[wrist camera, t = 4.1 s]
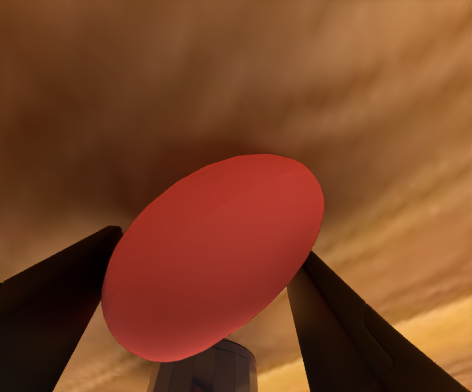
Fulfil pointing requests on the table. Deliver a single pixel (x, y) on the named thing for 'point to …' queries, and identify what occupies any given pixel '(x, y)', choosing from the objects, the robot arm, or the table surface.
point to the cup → (208, 371)
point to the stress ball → (210, 255)
